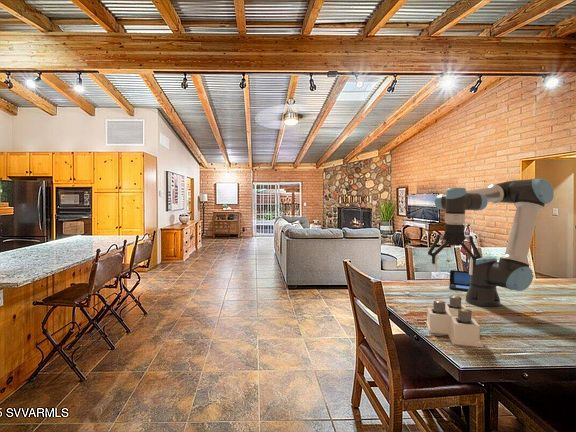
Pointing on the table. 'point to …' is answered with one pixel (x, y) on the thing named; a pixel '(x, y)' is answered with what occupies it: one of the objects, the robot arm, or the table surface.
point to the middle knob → (438, 307)
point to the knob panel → (454, 327)
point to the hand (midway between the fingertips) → (452, 273)
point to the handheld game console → (459, 280)
